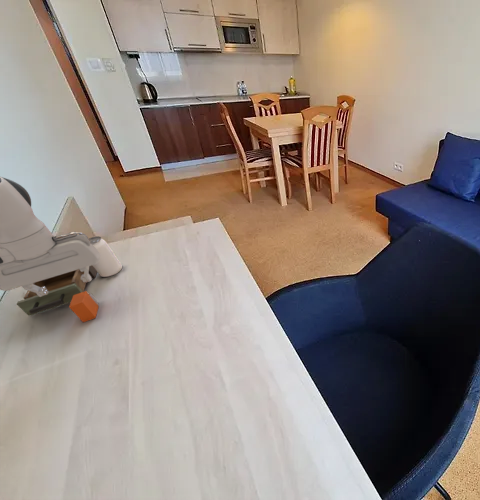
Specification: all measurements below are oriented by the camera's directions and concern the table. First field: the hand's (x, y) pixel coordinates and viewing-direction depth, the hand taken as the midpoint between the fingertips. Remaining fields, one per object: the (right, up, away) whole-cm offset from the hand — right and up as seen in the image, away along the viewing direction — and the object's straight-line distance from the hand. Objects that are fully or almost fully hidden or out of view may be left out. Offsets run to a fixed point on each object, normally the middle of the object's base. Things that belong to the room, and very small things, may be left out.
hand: (66, 287), depth 78 cm
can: (-5, +3, +22) cm, 23 cm away
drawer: (-13, -4, +12) cm, 18 cm away
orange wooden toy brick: (+1, -8, +6) cm, 10 cm away
